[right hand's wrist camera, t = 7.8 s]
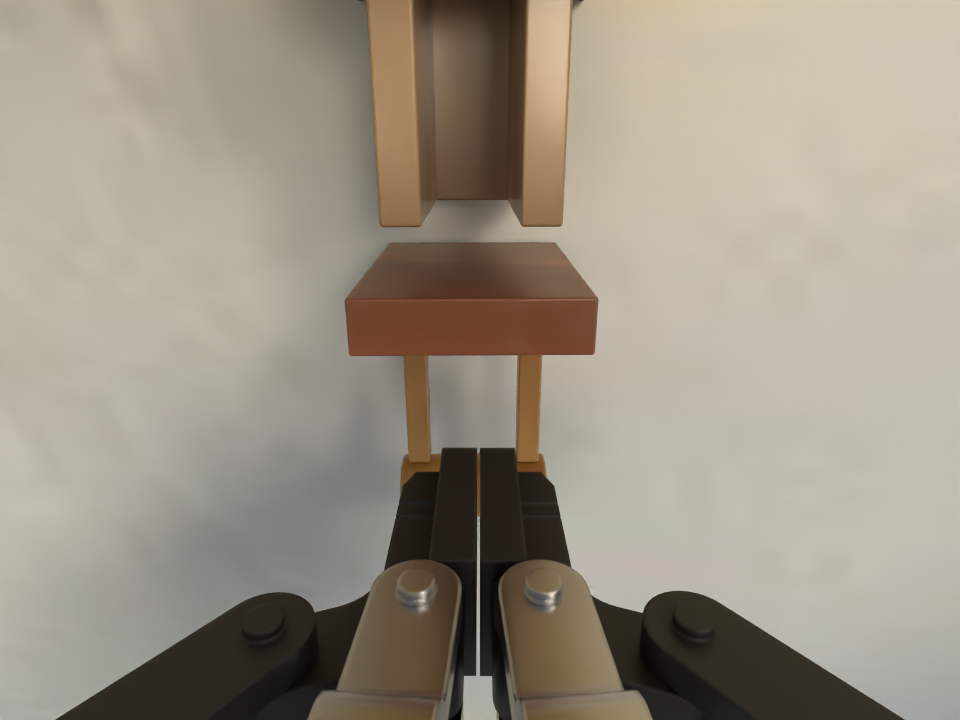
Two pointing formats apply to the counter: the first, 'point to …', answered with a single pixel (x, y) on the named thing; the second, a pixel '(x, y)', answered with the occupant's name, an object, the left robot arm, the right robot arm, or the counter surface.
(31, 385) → the counter surface
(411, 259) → the drawer
